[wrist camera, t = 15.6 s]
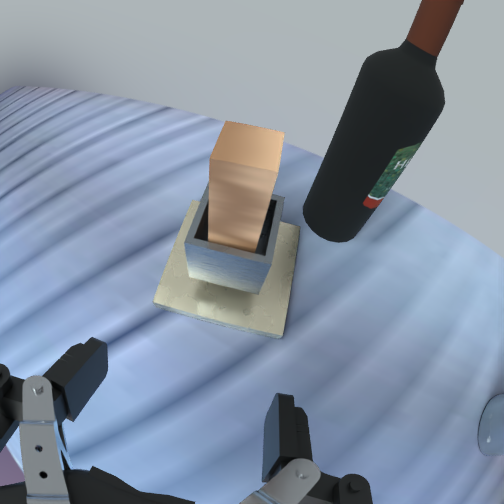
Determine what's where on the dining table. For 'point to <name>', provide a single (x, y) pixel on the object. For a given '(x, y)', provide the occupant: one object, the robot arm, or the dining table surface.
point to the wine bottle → (381, 126)
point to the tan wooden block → (242, 183)
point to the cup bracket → (231, 274)
